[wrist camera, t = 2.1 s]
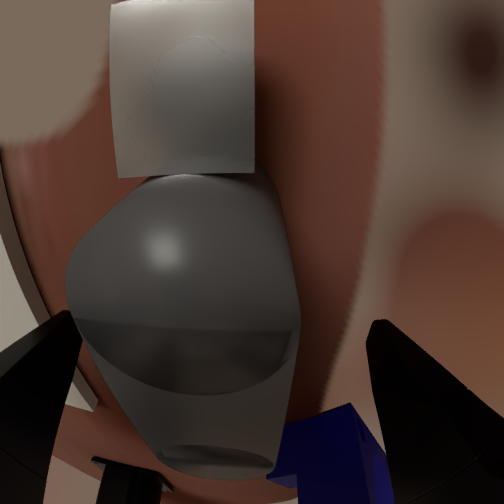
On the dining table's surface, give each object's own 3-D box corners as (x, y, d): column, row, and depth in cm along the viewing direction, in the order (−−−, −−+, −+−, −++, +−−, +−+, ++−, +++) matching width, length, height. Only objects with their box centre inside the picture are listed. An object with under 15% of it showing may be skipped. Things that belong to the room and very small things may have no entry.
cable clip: (265, 427, 13) (266, 533, 8) (350, 402, 12) (372, 517, 7) (335, 473, 18) (342, 534, 13) (387, 456, 17) (400, 519, 12)
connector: (285, 23, 5) (318, -56, 2) (269, 393, 11) (271, 481, 8) (134, 36, 5) (22, 3, 2) (186, 389, 11) (171, 474, 8)
